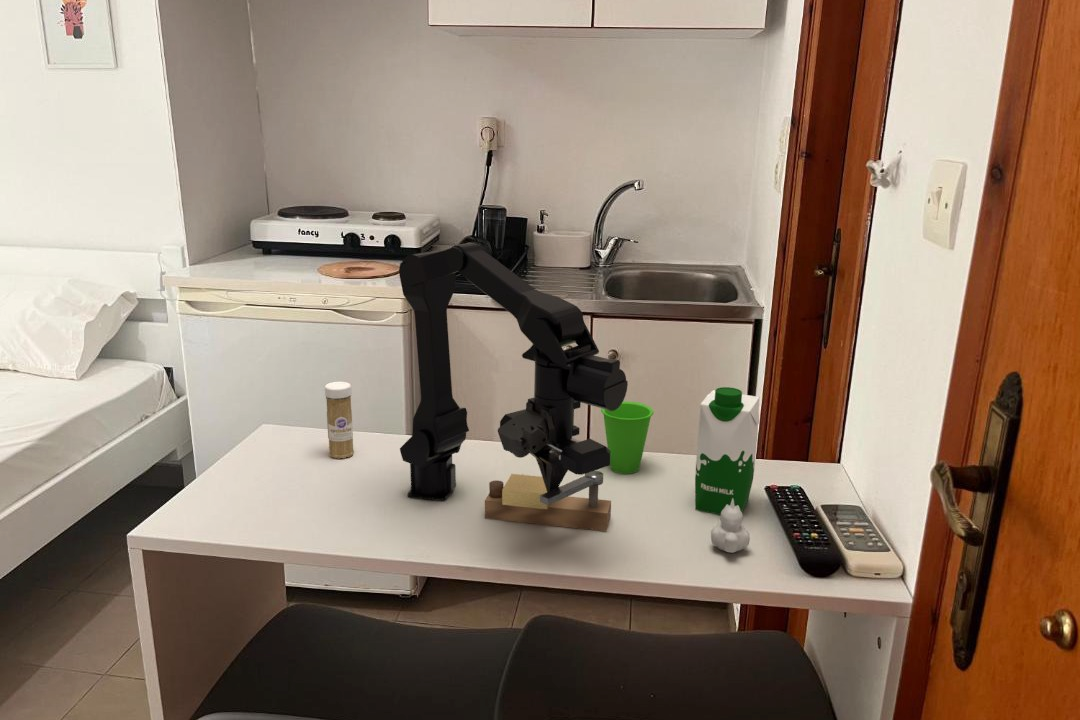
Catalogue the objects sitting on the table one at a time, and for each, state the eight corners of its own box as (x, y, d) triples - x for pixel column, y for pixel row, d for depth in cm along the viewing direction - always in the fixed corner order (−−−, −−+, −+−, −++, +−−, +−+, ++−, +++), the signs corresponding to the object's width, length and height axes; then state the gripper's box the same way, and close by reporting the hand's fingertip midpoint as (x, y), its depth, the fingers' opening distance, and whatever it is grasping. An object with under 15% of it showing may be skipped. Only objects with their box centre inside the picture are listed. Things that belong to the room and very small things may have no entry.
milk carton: (688, 511, 135) (696, 391, 129) (702, 489, 143) (710, 375, 137) (743, 522, 131) (754, 399, 125) (755, 499, 139) (766, 383, 133)
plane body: (484, 518, 131) (484, 478, 130) (492, 505, 136) (491, 467, 134) (606, 531, 128) (608, 491, 126) (610, 518, 132) (612, 479, 130)
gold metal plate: (502, 504, 129) (502, 489, 128) (511, 488, 135) (511, 473, 134) (547, 509, 128) (547, 494, 127) (554, 492, 133) (555, 478, 133)
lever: (551, 507, 120) (551, 499, 119) (536, 501, 122) (537, 493, 121) (606, 481, 128) (607, 474, 128) (592, 476, 130) (593, 469, 130)
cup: (648, 481, 145) (651, 420, 142) (595, 476, 147) (597, 416, 144) (652, 460, 154) (655, 403, 151) (602, 456, 156) (604, 399, 152)
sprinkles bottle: (334, 461, 152) (330, 390, 148) (325, 453, 155) (320, 383, 151) (358, 456, 154) (355, 385, 150) (348, 448, 158) (344, 379, 154)
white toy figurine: (746, 542, 125) (751, 492, 123) (749, 564, 119) (754, 512, 117) (709, 538, 126) (713, 489, 124) (710, 560, 120) (714, 509, 118)
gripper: (469, 385, 122) (470, 484, 126) (551, 426, 108) (547, 535, 112) (531, 371, 128) (529, 466, 133) (615, 408, 114) (610, 512, 119)
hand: (551, 493), depth 124 cm, fingers closed
